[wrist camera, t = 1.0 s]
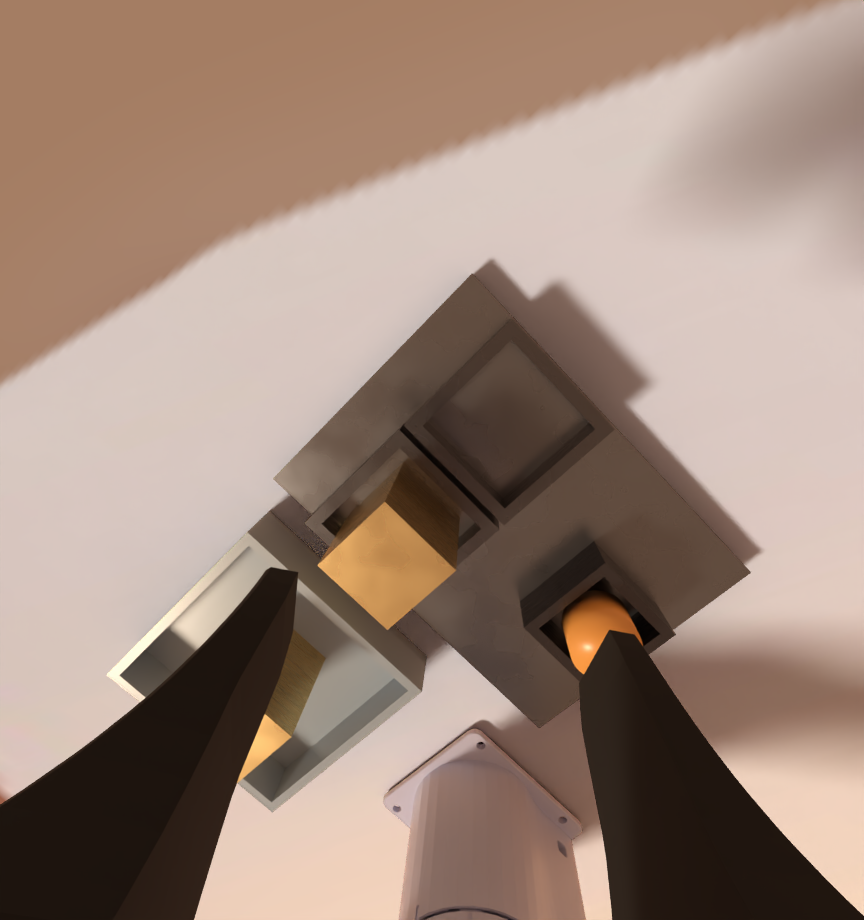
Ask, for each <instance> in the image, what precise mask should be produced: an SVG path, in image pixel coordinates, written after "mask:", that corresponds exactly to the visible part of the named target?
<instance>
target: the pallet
mask: <svg viewBox="0 0 864 920" xmlns="http://www.w3.org/2000/svg"><path fill="white" fill-rule="evenodd" d="M403 462H405V463H406V464H407V465H408V466H409V467H410V468H411V469H412V470H413V471H414V472H415V473H416V474H417V475H418V476H419V477H420V478H421V479H422V480H423V481H424V482H425V483H426V484H427V485H428V486H429V487H430V488H431V489H432V490H433V491H434V492H435V493H436V494H437V495H438V496H439V497H440V498H441V499H442V500H443V501H444V502H445V503H446V504H447V505H448V506H449V507H450V508H451V509H453V510H454V511H455V512H456V513H457V514H458V515H459V516H460V526H459V539H458V552H457V566H456V571H455V572H454V573H453V574H452V575H451V576H449V577H448V578H447V579H446V580H445V581H444V582H442V583H441V584H440V585H439V586H438V587H437V588H435V589H434V590H433V591H432V592H431V593H430V594H429V595H427V596H426V597H425V598H424V599H423V600H422V601H420V602H419V603H418V604H417V605H416V606H415V607H413V608H412V610H414V611H415V612H416V613H417V614H418V615H419V616H420V617H421V618H422V619H423V620H424V621H425V622H426V623H427V624H428V625H430V626H431V627H432V628H433V629H434V630H435V631H436V632H437V633H438V634H439V635H440V636H441V637H442V638H443V639H445V640H446V641H447V642H448V643H449V644H450V645H451V646H452V647H453V648H454V649H455V650H456V651H457V652H458V653H459V654H461V655H462V656H463V657H464V658H465V659H466V660H467V661H468V662H469V663H470V664H471V665H472V666H473V667H474V668H475V669H477V670H478V671H479V672H480V673H481V674H482V675H483V676H484V677H485V678H486V679H487V680H488V681H489V682H490V683H491V684H493V685H494V686H495V687H496V688H497V689H498V690H499V691H500V692H501V693H502V694H503V695H504V696H505V697H506V698H507V699H509V700H510V701H511V702H512V703H513V704H514V705H515V706H516V707H517V708H518V709H519V710H520V711H521V712H522V713H523V714H525V715H526V716H527V717H528V718H529V719H530V720H531V721H532V722H533V723H534V724H535V725H536V726H537V727H538V728H540V727H541V726H543V725H544V724H546V723H547V722H548V721H550V720H551V719H552V718H554V717H555V716H556V715H558V714H559V713H561V712H562V711H563V710H565V709H566V708H567V707H569V706H570V705H571V704H573V703H574V702H576V701H577V700H578V699H580V693H579V682H580V681H581V679H582V677H583V675H584V674H582V673H581V672H580V671H579V670H578V669H577V668H576V667H575V665H574V664H573V662H572V659H571V656H570V652H569V649H568V645H567V642H566V638H565V634H564V631H563V627H562V614H563V611H564V608H565V607H567V606H568V605H569V604H570V603H572V602H573V601H574V600H575V599H577V598H578V597H579V596H580V595H582V594H583V593H584V592H587V591H593V590H598V591H605V592H608V593H611V594H613V595H614V596H616V597H617V598H618V599H620V600H621V602H622V603H623V604H624V606H625V607H626V609H627V611H628V613H629V615H630V617H631V619H632V621H633V623H634V625H635V627H636V629H637V631H638V633H639V635H640V637H641V639H642V643H643V647H644V649H645V650H646V652H647V653H648V655H649V654H650V653H651V652H653V651H654V650H655V649H657V648H658V647H660V646H661V645H662V644H664V643H665V642H666V641H668V640H669V639H670V638H672V637H673V636H675V635H676V634H675V632H674V631H673V629H675V628H676V627H678V626H679V625H680V624H682V623H683V622H684V621H686V620H687V619H688V618H690V617H691V616H693V615H694V614H695V613H697V612H698V611H699V610H701V609H702V608H703V607H705V606H706V605H707V604H709V603H710V602H712V601H713V600H714V599H716V598H717V597H718V596H720V595H721V594H722V593H724V592H725V591H727V590H728V589H729V588H731V587H732V586H733V585H735V584H736V583H737V582H739V581H740V580H741V579H743V578H744V577H746V576H747V575H748V574H750V573H751V572H750V571H749V570H748V569H747V568H746V567H745V565H744V564H743V563H742V562H741V561H740V560H739V559H738V558H737V557H736V556H735V555H734V554H733V553H732V552H731V550H730V549H729V548H728V547H727V546H726V545H725V544H724V543H723V542H722V541H721V540H720V539H719V538H718V537H717V535H716V534H715V533H714V532H713V531H712V530H711V529H710V528H709V527H708V526H707V525H706V524H705V523H704V522H703V520H702V519H701V518H700V517H699V516H698V515H697V514H696V513H695V512H694V511H693V510H692V509H691V508H690V506H689V505H688V504H687V503H686V502H685V501H684V500H683V499H682V498H681V497H680V496H679V495H678V494H677V493H676V491H675V490H674V489H673V488H672V487H671V486H670V485H669V484H668V483H667V482H666V481H665V480H664V479H663V478H662V476H661V475H660V474H659V473H658V472H657V471H656V470H655V469H654V468H653V467H652V466H651V465H650V464H649V463H648V461H647V460H646V459H645V458H644V457H643V456H642V455H641V454H640V453H639V452H638V451H637V450H636V449H635V448H634V446H633V445H632V444H631V443H630V442H629V441H628V440H627V439H626V438H625V437H624V436H623V435H622V434H621V433H620V431H619V430H618V429H617V428H616V427H615V426H614V425H613V424H612V423H611V422H610V421H609V420H608V419H607V418H606V416H605V415H604V414H603V413H602V412H601V411H600V410H599V409H598V408H597V407H596V406H595V405H594V404H593V402H592V401H591V400H590V399H589V398H588V397H587V396H586V395H585V394H584V393H583V392H582V391H581V390H580V389H579V387H578V386H577V385H576V384H575V383H574V382H573V381H572V380H571V379H570V378H569V377H568V376H567V375H566V374H565V372H564V371H563V370H562V369H561V368H560V367H559V366H558V365H557V364H556V363H555V362H554V361H553V360H552V359H551V357H550V356H549V355H548V354H547V353H546V352H545V351H544V350H543V349H542V348H541V347H540V346H539V345H538V344H537V342H536V341H535V340H534V339H533V338H532V337H531V336H530V335H529V334H528V333H527V332H526V331H525V330H524V329H523V327H522V326H521V325H520V324H519V323H518V322H517V321H516V320H515V319H514V318H513V317H512V316H511V315H510V314H509V312H508V311H507V310H506V309H505V308H504V307H503V306H502V305H501V304H500V303H499V302H498V301H497V300H496V298H495V297H494V296H493V295H492V294H491V293H490V292H489V291H488V290H487V289H486V288H485V287H484V286H483V285H482V283H481V282H480V281H479V280H478V279H477V278H476V277H475V276H474V275H473V274H471V275H470V276H469V277H468V278H467V279H466V280H465V281H464V282H463V284H462V285H461V286H460V287H459V288H458V289H457V290H456V291H455V292H454V293H453V294H452V295H451V296H450V297H449V298H448V299H447V300H446V301H445V302H444V303H443V304H442V305H441V306H440V307H439V308H438V309H437V310H436V311H435V312H434V313H433V314H432V315H431V316H430V318H429V319H428V320H427V321H426V322H425V323H424V324H423V325H422V326H421V327H420V328H419V329H418V330H417V331H416V332H415V333H414V334H413V335H412V336H411V337H410V338H409V339H408V340H407V341H406V342H405V343H404V344H403V345H402V346H401V347H400V348H399V349H398V350H397V352H396V353H395V354H394V355H393V356H392V357H391V358H390V359H389V360H388V361H387V362H386V363H385V364H384V365H383V366H382V367H381V368H380V369H379V370H378V371H377V372H376V373H375V374H374V375H373V376H372V377H371V378H370V379H369V380H368V381H367V382H366V383H365V384H364V386H363V387H362V388H361V389H360V390H359V391H358V392H357V393H356V394H355V395H354V396H353V397H352V398H351V399H350V400H349V401H348V402H347V403H346V404H345V405H344V406H343V407H342V408H341V409H340V410H339V411H338V412H337V413H336V414H335V415H334V416H333V417H332V418H331V420H330V421H329V422H328V423H327V424H326V425H325V426H324V427H323V428H322V429H321V430H320V431H319V432H318V433H317V434H316V435H315V436H314V437H313V438H312V439H311V440H310V441H309V442H308V443H307V444H306V445H305V446H304V447H303V448H302V449H301V450H300V451H299V453H298V454H297V455H296V456H295V457H294V458H293V459H292V460H291V461H290V462H289V463H288V464H287V465H286V466H285V467H284V468H283V469H282V470H281V471H280V472H279V473H278V474H277V475H276V476H275V477H274V478H273V479H274V480H275V481H276V482H277V483H278V484H279V485H280V486H281V487H282V488H283V489H284V490H285V491H287V492H288V493H289V494H290V495H291V496H292V497H293V498H294V499H295V500H296V501H297V502H298V503H299V504H300V505H302V506H303V507H304V508H305V509H306V510H307V511H308V512H309V513H310V514H311V516H310V517H309V518H308V519H307V521H306V522H305V523H304V524H306V525H307V526H308V527H309V528H310V529H311V530H312V531H313V532H314V533H315V534H316V535H317V536H318V537H319V538H321V539H322V540H323V541H324V542H325V543H326V544H327V545H328V546H330V544H331V543H332V541H333V539H334V538H335V536H336V535H337V533H338V531H339V530H340V528H341V527H342V525H343V523H344V522H345V520H346V519H347V517H348V515H349V514H350V513H351V512H352V511H353V510H354V509H355V508H356V507H357V506H358V505H359V504H360V503H361V502H362V501H363V500H364V499H365V498H367V497H368V496H369V495H370V494H371V493H372V492H373V491H374V490H375V489H376V488H377V487H378V486H379V485H380V484H381V483H382V482H383V481H384V480H385V479H386V478H387V477H388V476H389V475H391V474H392V473H393V472H394V471H395V470H396V469H397V468H398V467H399V466H400V465H401V464H402V463H403Z"/></svg>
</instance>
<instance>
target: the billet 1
mask: <svg viewBox="0 0 864 920" xmlns="http://www.w3.org/2000/svg"><path fill="white" fill-rule="evenodd" d="M325 659H326V658H325V657H324V656H323V655H322V654H321V653H320V652H319V651H317V650H316V649H315V648H314V647H313V646H312V645H311V644H310V643H308V642H307V641H306V640H305V639H304V638H303V637H302V636H301V635H300V634H298V633H297V632H296V631H295V630H294V629H293V634H292V637H291V641H290V644H289V648H288V651H287V655H286V658H285V661H284V665H283V668H282V671H281V675H280V678H279V680H278V683H277V685H276V688H275V690H274V693H273V695H272V697H271V700H270V702H269V705H268V707H267V710H266V712H265V715H264V717H263V720H262V722H261V724H260V727H259V729H258V732H257V734H256V737H255V739H254V741H253V744H252V746H251V749H250V751H249V754H248V756H247V759H246V761H245V763H244V766H243V768H242V771H241V773H240V776H239V778H238V781H237V783H238V782H239V781H240V780H242V779H243V778H244V777H245V776H246V775H247V774H249V773H250V772H251V771H252V770H253V769H254V768H256V767H257V766H258V765H259V764H260V763H262V762H263V761H264V760H265V759H266V758H267V757H269V756H270V755H271V754H272V753H273V752H275V751H276V750H277V749H278V748H279V747H280V746H282V745H283V744H284V743H285V742H286V741H287V740H289V739H290V738H291V737H292V735H293V733H294V730H295V728H296V726H297V723H298V721H299V719H300V716H301V714H302V712H303V710H304V707H305V705H306V703H307V700H308V698H309V696H310V693H311V691H312V689H313V686H314V684H315V682H316V679H317V677H318V675H319V673H320V670H321V668H322V666H323V663H324V661H325Z"/></svg>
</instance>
